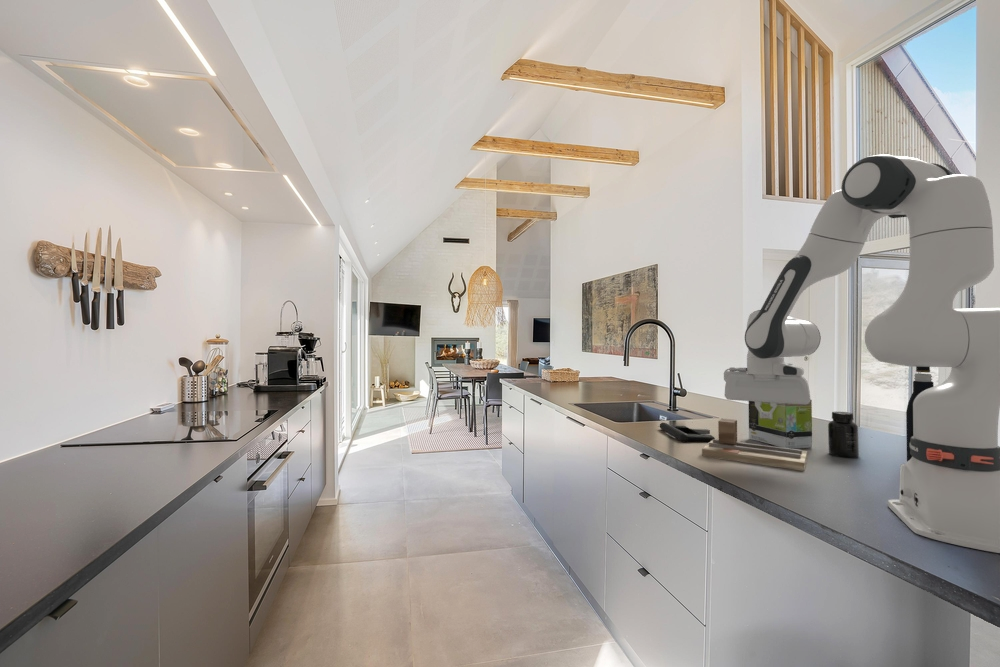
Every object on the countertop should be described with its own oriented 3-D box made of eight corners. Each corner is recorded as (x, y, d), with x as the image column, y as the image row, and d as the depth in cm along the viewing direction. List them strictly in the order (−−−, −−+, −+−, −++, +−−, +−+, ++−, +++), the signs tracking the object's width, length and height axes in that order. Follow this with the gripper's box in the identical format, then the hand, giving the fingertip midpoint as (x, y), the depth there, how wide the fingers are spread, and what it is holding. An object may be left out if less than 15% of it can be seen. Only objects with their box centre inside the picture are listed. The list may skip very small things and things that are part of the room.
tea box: (813, 447, 134) (813, 399, 134) (785, 450, 132) (785, 400, 132) (773, 436, 149) (772, 392, 149) (747, 438, 147) (747, 393, 147)
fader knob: (734, 448, 125) (733, 422, 125) (718, 446, 128) (718, 421, 128) (737, 444, 129) (737, 419, 129) (722, 442, 132) (721, 418, 132)
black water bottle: (944, 475, 107) (943, 351, 107) (908, 471, 111) (907, 350, 111) (939, 469, 112) (938, 350, 112) (905, 464, 116) (904, 350, 116)
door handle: (700, 423, 162) (656, 421, 162) (728, 436, 142) (678, 433, 142) (699, 432, 162) (655, 430, 162) (728, 446, 142) (677, 444, 142)
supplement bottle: (857, 453, 127) (856, 411, 127) (860, 459, 121) (860, 415, 121) (827, 450, 131) (826, 409, 131) (829, 456, 125) (828, 413, 125)
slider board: (804, 470, 112) (804, 458, 112) (702, 455, 126) (701, 445, 126) (807, 458, 123) (807, 447, 123) (712, 445, 137) (712, 436, 137)
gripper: (721, 367, 126) (722, 416, 126) (809, 369, 114) (810, 423, 114) (725, 366, 131) (726, 413, 131) (810, 368, 119) (811, 420, 119)
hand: (766, 418), depth 122 cm, fingers closed
